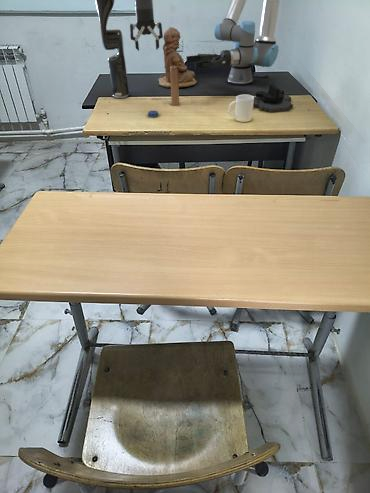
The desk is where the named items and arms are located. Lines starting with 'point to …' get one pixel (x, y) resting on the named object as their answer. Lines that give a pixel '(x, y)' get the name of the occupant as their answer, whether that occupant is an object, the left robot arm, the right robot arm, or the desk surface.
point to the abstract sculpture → (272, 100)
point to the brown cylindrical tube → (174, 85)
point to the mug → (242, 108)
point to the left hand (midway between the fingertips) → (147, 49)
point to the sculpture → (175, 61)
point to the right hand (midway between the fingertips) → (190, 62)
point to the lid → (153, 113)
